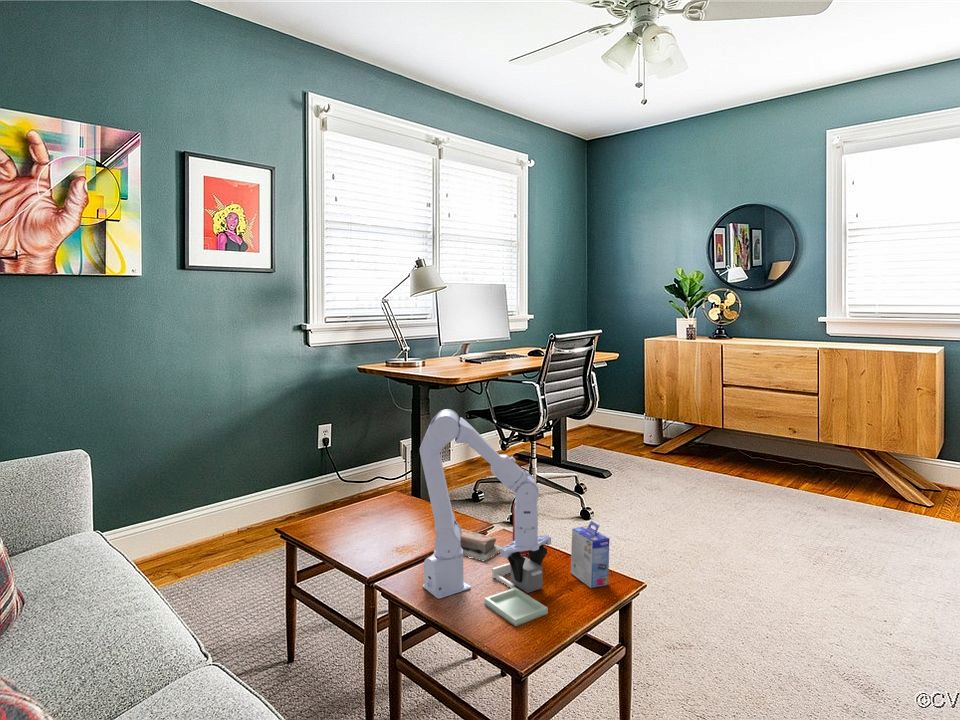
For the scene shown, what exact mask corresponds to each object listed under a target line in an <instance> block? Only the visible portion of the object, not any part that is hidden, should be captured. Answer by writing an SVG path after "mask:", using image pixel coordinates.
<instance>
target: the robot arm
mask: <svg viewBox="0 0 960 720" xmlns="http://www.w3.org/2000/svg"><path fill="white" fill-rule="evenodd" d="M427 427H428V428H427V429H426V432H425V435H424V436H423V439H422V440H421V444H420V447H419V455H420V459H421V465H422V468H423V473H424V478H425V482H426V487H427V491H428V496H429V500H430V505H431V511H432V514H433V519H434V520H433V521H434V532H435V541H434V549H433V554H432V555H429V556H428V557H427V558H425V559H424V561H423V585H422V588H423V589H425V591H428V592H429V593H430V594H431V595H433V596H434V597H435V598H437V599H439V600H440V599H443V598H446V597H448V596H452V595H454V594H457V593H461V592H465V591H468V590H471V585H470V584H468V583H467V582H465V580H464V577H465V575H464V556H463V549H462V548H461V543H460V540H461V534H462V531H461V529H462V527H461V526H460V524H459V523H458V522H457V519H456V517H455V513H454V512H453V508H452V504H451V503H452V502H451V499H450V493H449V489H448V484H447V481H446V475H445V470H444V466H443V461H442V456H441V451H442V450H443V449H444V448H445V446H446V445H447V444H449V443H450V442H452V441H454V440H455V443H456V444H465V445H466V444H467V445H468V446H469V447H470V448H471V449H472V450H474V451H475V452H476V453H477V454H478V455H480V456H481V457H482V458H483V459H484V460H485V461H486V462H487V463H488V464H489V465H490V473H491V474H493V475H494V476H495V478H497V479H498V481H500V482H501V483H502V484H503V485H504V486H505V487H506V488H507V489H508V490H510V491H512V492H513V493H514V497H515V500H514V503H515V541H513V542H512V541H511V542H510V543H508V544H506V545H505V546H503V547H502V548H500V552H499V553H500V554H499V555H500V556H501V557H502V558H504V559H507V561H508V563H510V565H511V568H512V571H513V574H514V578H515V580H516V581H517V582H519V583H520V582H522V576H523V565H524V561H525V558H524V557H525V556H523V555H521V554H520V552H523V551H529V554H528V555H529V559H530V560H532V561H534V562H536V563H537V564H539V565H541V566H542V563H543V560H544V559H545V557H546V556H547V554H548V548H546V547H545V545H547V546H549V545H552V536H550V535H548V534H543V535H539V533H538V532H539V528H538V527H539V520H538V519H539V514H538V512H539V510H538V509H539V508H538V499H539V497H540V492H539V487H538V484H537V482H536V480H535V478H534V477H533V475H531V474H530V473H529V472H528V470H524V469H522V467H520V465H519V464H517V463H516V462H517V461H516V458H515V457H513V456H509V455H508V454H501V453H500V454H499V453H498V451H496V449H495V448H493V447H492V445H491V444H490V443H489V442H488V441H487V440H486V439H485V438H484V437H483V436H482V435H481V434H480V433H479V432H478V431H477V429H475V428H474V427H473V426H472V425H471V424H470V423H469V422H468V421H467V420H466V419H465V418H463V417H459V414H458V413H457V412H456V411H455V410H452V409H449V408H447V409H442V410H440V411H438V412H437V414H435V416H434V417H433V418H432V419H431V421H430V423H429V425H428V426H427Z"/></svg>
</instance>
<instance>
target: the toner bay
mask: <svg viewBox="0 0 960 720" xmlns="http://www.w3.org/2000/svg"><path fill="white" fill-rule="evenodd" d="M508 573H510V563H509V562H507V563H504V564H501V565H498V566H495V567H492V568H491V578H492V577H493V578H496V579H495V580H497V579H498V580H499V581H498V580H497V581H498V582H500V581H501V582H500V583H501V584H503V583H504V585H505V584H506V585H507V587H508V588H509V587H510V588H509V589H512V588H515V587H516V585H515V584H513V583H511V580H508V579H506V578H505V577H504V576H506V575H505V574H507V575H509V574H508ZM510 574H511V573H510ZM502 575H504V576H502ZM493 578H492V579H493ZM506 585H505V586H506Z"/></svg>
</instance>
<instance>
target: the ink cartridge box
mask: <svg viewBox="0 0 960 720" xmlns="http://www.w3.org/2000/svg"><path fill="white" fill-rule="evenodd" d="M591 526H594V528H595V529H594V528H593V527H591ZM599 527H600V525H599V524H598V523H596V522H594V521H592V520H591V521H590V522H589V524H588V526H579V527H575V528H572V529H571V549H570V550H571V553H570V574H571V575H573V576H574V577H576V578H577V579H578V580H579V581H581V582H582V583H583V584H585V585H586V586H587V587H589V588H590V589H593V588H600V587H607V586H609V579H610V578H609V577H610V576H609V574H610V572H609V571H610V570H609V567H610V564H609V563H610V537H608V536H606V535H604V534H603V533H600V531H599Z"/></svg>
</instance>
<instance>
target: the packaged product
mask: <svg viewBox="0 0 960 720" xmlns="http://www.w3.org/2000/svg"><path fill="white" fill-rule="evenodd" d="M461 531H462V534H461V540H460V543H461V548H462V549H463V555H465V556H464V557H466V556H469V557H473V558H477V559H480V560H484V561H485V560H486V561H488V560H489V559H488V558H490V557H491V556H493V555H495V554H496V555H497V553H498V552H499V553H500V548H502V547H504V546H503V545H502V546H501V545H498V544H495V543H497V538H495V537H492V536H489V535H485V534H481V533H477V532H474V531H470V530H468V529H463V528H461ZM499 553H498V554H499ZM496 555H495V556H496ZM469 557H468V558H469ZM493 557H494V556H493ZM473 558H472V559H473ZM491 558H492V557H491ZM491 558H490V559H491ZM477 559H476V560H477ZM487 559H488V560H487ZM480 560H479V561H480ZM484 561H483V562H484ZM486 561H485V562H486Z"/></svg>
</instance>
